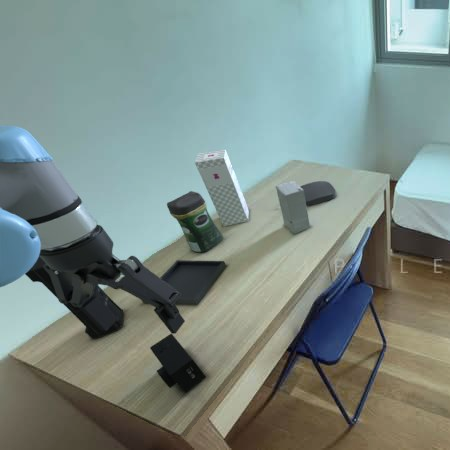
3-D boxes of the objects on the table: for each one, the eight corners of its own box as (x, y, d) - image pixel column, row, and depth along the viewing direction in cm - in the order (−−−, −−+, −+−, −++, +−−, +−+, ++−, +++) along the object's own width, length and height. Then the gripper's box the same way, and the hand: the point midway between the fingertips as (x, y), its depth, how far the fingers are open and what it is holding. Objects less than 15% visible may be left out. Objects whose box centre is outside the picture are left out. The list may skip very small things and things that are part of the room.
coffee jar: (211, 233, 109) (188, 187, 98) (227, 238, 106) (205, 191, 95) (186, 250, 102) (158, 201, 91) (202, 255, 99) (176, 206, 88)
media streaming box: (303, 208, 120) (302, 201, 119) (294, 193, 131) (292, 186, 129) (338, 197, 126) (337, 191, 124) (327, 184, 137) (326, 178, 135)
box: (225, 214, 119) (198, 153, 104) (248, 209, 121) (225, 149, 107) (223, 226, 112) (194, 162, 98) (248, 220, 115) (223, 157, 100)
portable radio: (123, 331, 76) (53, 254, 62) (92, 343, 73) (11, 266, 59) (124, 310, 81) (61, 235, 67) (96, 321, 79) (23, 246, 64)
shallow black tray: (197, 305, 82) (193, 299, 81) (143, 303, 83) (139, 298, 82) (226, 266, 94) (224, 260, 93) (180, 265, 96) (177, 260, 94)
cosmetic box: (284, 225, 112) (272, 186, 102) (302, 217, 115) (292, 179, 106) (294, 235, 106) (282, 195, 97) (313, 226, 110) (303, 187, 101)
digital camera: (159, 369, 67) (142, 351, 63) (185, 351, 71) (170, 332, 67) (179, 398, 62) (162, 380, 58) (206, 377, 66) (192, 358, 62)
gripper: (165, 221, 47) (218, 311, 59) (18, 220, 49) (99, 308, 61) (127, 253, 41) (195, 346, 53) (-40, 251, 43) (63, 341, 55)
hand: (144, 326), depth 57 cm, fingers open, 13 cm apart
